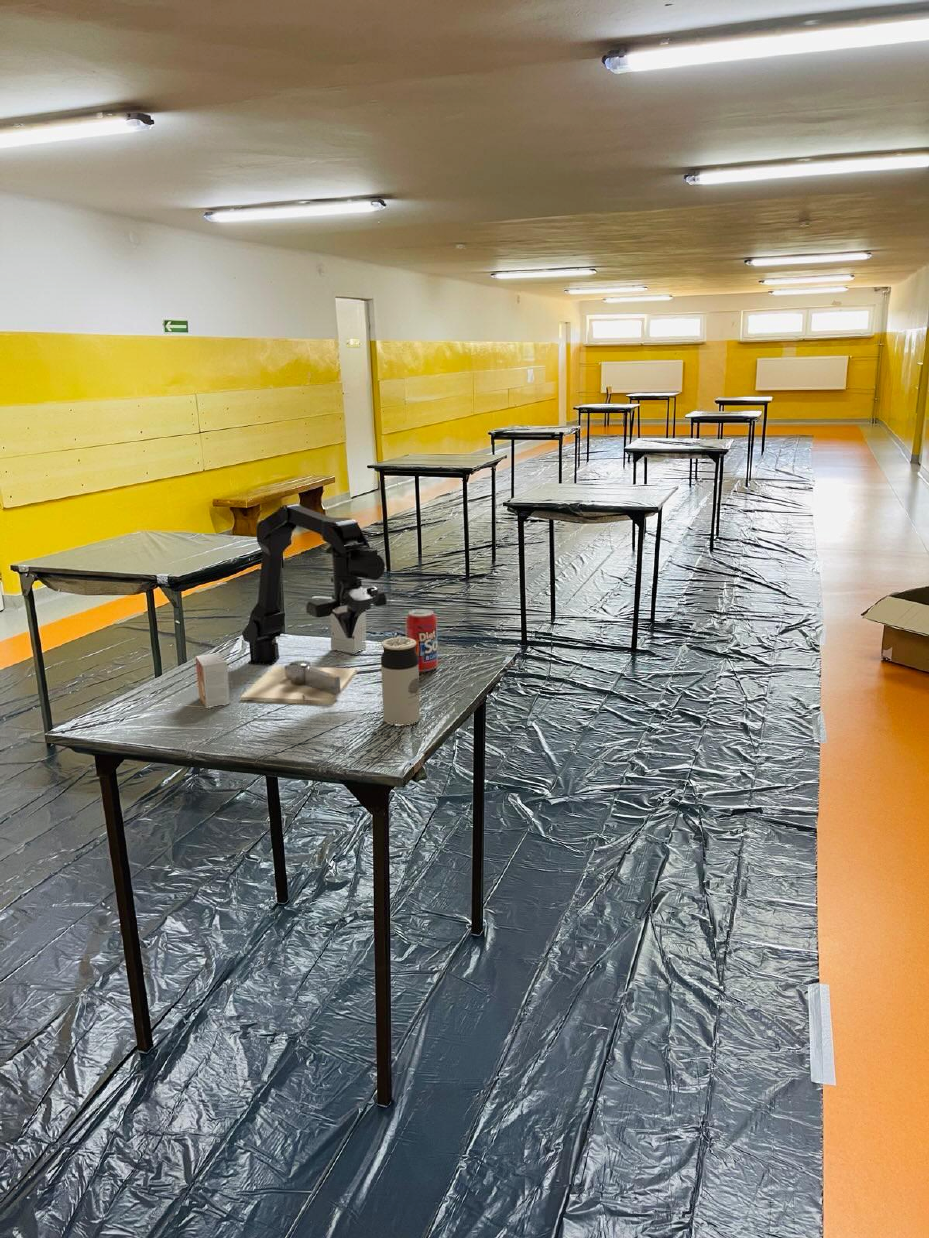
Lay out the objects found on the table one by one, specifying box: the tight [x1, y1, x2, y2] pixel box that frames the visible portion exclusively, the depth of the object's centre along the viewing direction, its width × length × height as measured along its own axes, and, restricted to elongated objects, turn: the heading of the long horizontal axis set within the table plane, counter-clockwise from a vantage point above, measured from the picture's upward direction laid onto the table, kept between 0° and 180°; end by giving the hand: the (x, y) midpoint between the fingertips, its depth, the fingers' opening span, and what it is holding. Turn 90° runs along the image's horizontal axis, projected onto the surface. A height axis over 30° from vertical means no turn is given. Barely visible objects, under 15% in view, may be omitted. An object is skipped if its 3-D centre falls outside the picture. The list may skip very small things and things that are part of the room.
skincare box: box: [329, 597, 367, 655], centre depth 238 cm, size 8×6×15 cm
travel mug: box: [380, 636, 421, 725], centre depth 189 cm, size 8×8×18 cm
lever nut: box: [284, 660, 342, 695], centre depth 209 cm, size 18×5×4 cm, turn 49°
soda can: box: [405, 608, 439, 673], centre depth 222 cm, size 8×8×15 cm
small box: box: [195, 652, 231, 708], centre depth 203 cm, size 8×6×10 cm
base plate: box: [240, 665, 358, 706], centre depth 213 cm, size 22×22×1 cm
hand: (349, 638), depth 207 cm, fingers closed
